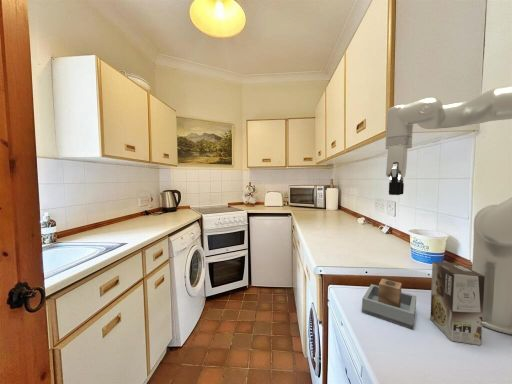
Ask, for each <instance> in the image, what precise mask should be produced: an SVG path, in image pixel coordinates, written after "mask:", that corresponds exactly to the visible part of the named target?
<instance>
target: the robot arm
mask: <svg viewBox="0 0 512 384" xmlns="http://www.w3.org/2000/svg"><path fill="white" fill-rule="evenodd" d="M504 120H505V121H506V120H512V84H511V85H505V86H498V87H494V88H492V89H489V90H487V91H486V92H483V93H482V94H480V95H479V96H476V97H474V98H471V99H469V100H465V101H461V102H457V103H451V104H443V102H442V101H441V100H440V99H438V98H436V97H426V98H422V99H419V100H418V99H417V100H416V101H413V102H410V103H407V104H397V105H394V106H392V107H390V108H388V110H387V112H386V125H385V127H386V130H385V132H386V133H385V150H387V157H386V169H385V171H386V172H385V176H386V178H389V182H388V195H390V196H401V195H404V190H405V184H404V178H405V177H406V173H407V164H408V150H409V149H411V148H412V147H413V128H414V124H417V125H418V126H419V127H420V128H422V129H423V130H437V129H438V130H439V129H449V128H457V127H458V128H459V127H465V126H470V125H471V126H472V125H477V124H484V123H488V122H493V121H494V122H495V121H504ZM472 247H473V248H472V264H471V265H472V266H471V270H473V271H475V272H477V273H479V274H481V275H483V276H485V282H484V300H483V316H482V327H485V328H488V329H490V330H493V331H496V332H500V333H504V334H508V335H512V196H511V197H509V198H508V199H506V200H504V201H502V202H500V203H499V204H492V205H491V204H490V205H487V206H485V207H482V208H481V209H479V211H477V213H476V214H475V216H474V219H473V246H472Z"/></svg>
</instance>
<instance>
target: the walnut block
mask: <svg viewBox="0 0 512 384" xmlns="http://www.w3.org/2000/svg"><path fill="white" fill-rule="evenodd" d="M378 286H379V294H378V302H381V303H384V304H388V305H391V306H394V307H398V308H400V307H401V292H402V286H403V284H402V282H398V281H394V280H390V279H387V278H381V280H380V282H379V283H378Z"/></svg>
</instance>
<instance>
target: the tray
mask: <svg viewBox="0 0 512 384" xmlns="http://www.w3.org/2000/svg"><path fill="white" fill-rule="evenodd" d="M378 294H379V285H377V284H372V283H371V284H370V286H369V287H368V288H367V290H366V292H365V293H364V295H363V296H362V301H361V313H362V314H366V315H370V316H372V317H375V318H378V319H380V320H383V321H386V322H390V323H392V324H394V325H395V324H396V325H398V326H401V327H404V328H406V329H409V330H412V331H414V325H415V317H416V311H415V310H416V309H417V295H414V294H410V293H406V292H403V291H401V307H400V308H398V307H394V306H391V305H388V304H384V303H381V302H378Z"/></svg>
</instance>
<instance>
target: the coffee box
mask: <svg viewBox="0 0 512 384" xmlns="http://www.w3.org/2000/svg"><path fill="white" fill-rule="evenodd" d="M431 263H432V267H431V271H432V272H431V290H430V291H431V293H430V294H431V295H430V297H431V298H430V318H429V319H430V321H432V323H433V324H434V325H435V326H436V327H437V328H438V329H440V330H439V331H440V332H442V333H443V334H444V335H445V336H446V337H447V338H448V339H449V340H450V341H451V342H458V343H464V344H471V345H477V346H481V345H482V335H483V333H482V331H483V326H482V316H483V300H484V282H485V276H483V275H481V274H479V273H477V272H475V271H473V270H472V268H469V267H467V266H465V265H462V264H460V263H455V262H439V261H438V262H437V261H432V262H431Z"/></svg>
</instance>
